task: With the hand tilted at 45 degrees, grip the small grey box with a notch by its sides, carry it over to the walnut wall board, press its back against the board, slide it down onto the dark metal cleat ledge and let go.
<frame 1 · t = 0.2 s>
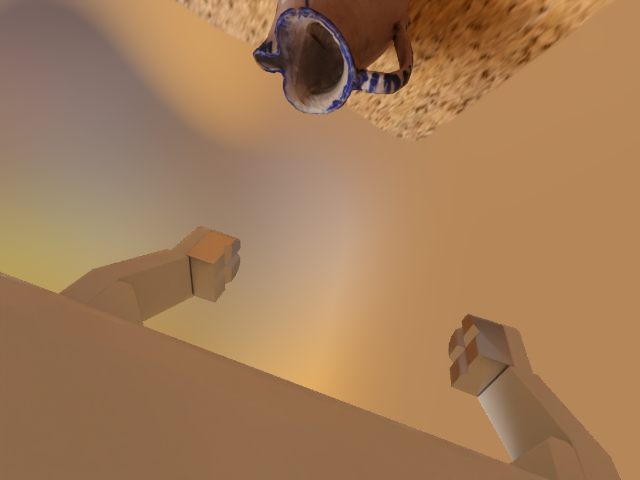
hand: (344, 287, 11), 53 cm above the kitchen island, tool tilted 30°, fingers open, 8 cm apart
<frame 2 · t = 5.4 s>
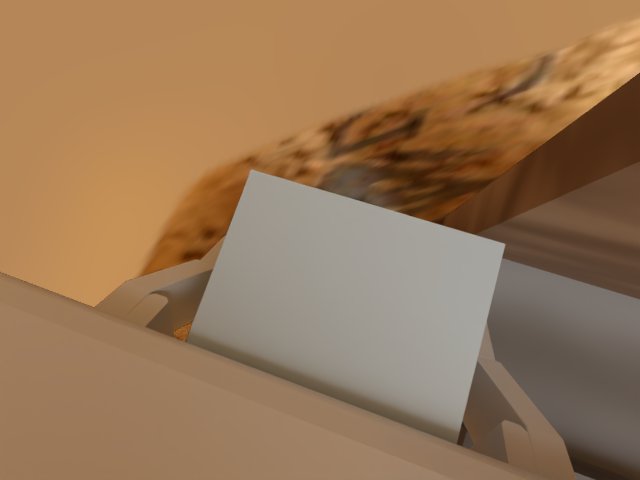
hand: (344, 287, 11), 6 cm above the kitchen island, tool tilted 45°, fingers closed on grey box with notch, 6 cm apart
wall board: (594, 281, 16), on the kitchen island
grey box with notch: (340, 300, 17), on the kitchen island, touching gripper
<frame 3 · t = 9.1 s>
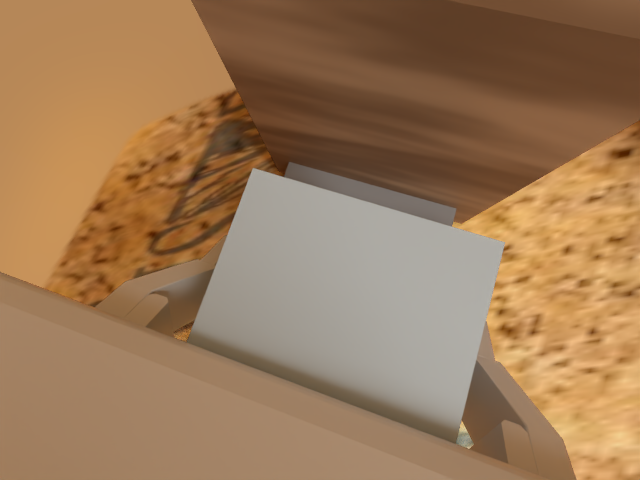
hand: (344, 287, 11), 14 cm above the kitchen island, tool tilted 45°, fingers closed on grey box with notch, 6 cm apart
wall board: (370, 185, 26), on the kitchen island
grey box with notch: (340, 299, 17), point 8 cm above the kitchen island, touching gripper
when the fingers open (10 cm above the kitchen island, at t = 12.6 s): grey box with notch drops 1 cm, resting on wall board.
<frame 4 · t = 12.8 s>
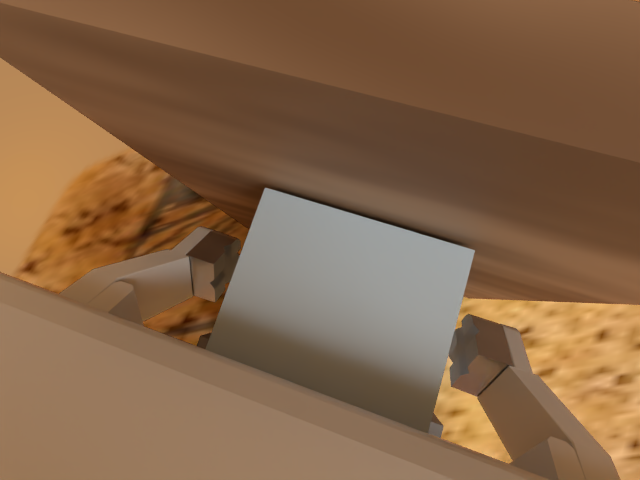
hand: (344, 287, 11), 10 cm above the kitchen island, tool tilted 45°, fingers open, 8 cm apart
wall board: (356, 247, 21), on the kitchen island
grey box with notch: (340, 298, 18), point 3 cm above the kitchen island, touching wall board
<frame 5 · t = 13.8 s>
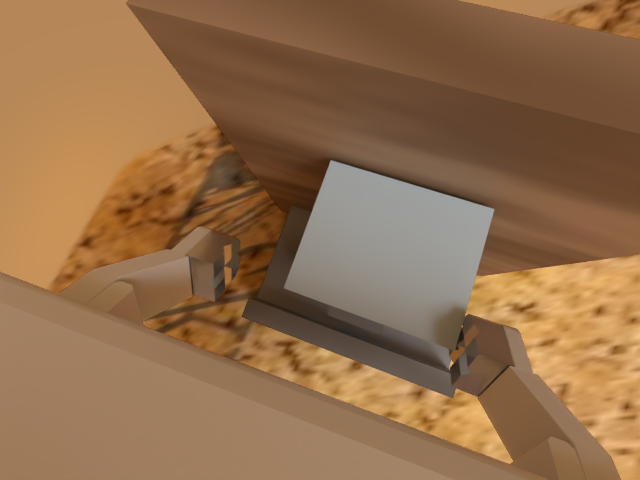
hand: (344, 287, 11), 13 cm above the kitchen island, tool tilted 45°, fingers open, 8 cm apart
wall board: (380, 229, 24), on the kitchen island
grey box with notch: (368, 271, 21), point 3 cm above the kitchen island, touching gripper
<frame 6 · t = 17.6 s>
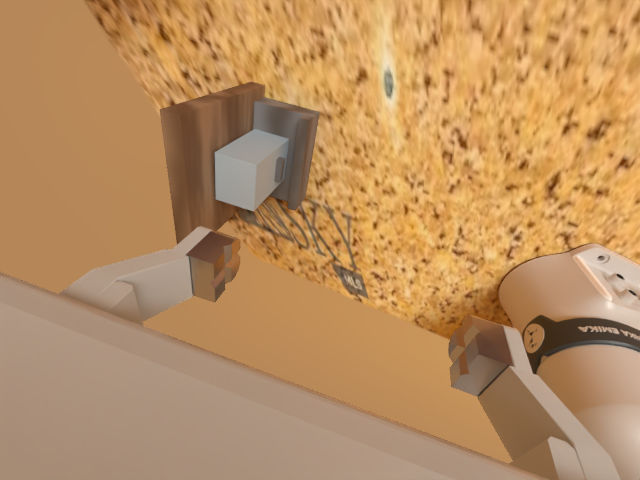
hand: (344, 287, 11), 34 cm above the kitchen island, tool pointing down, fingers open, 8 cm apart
wall board: (255, 141, 46), on the kitchen island
grey box with notch: (269, 154, 43), point 3 cm above the kitchen island, touching wall board
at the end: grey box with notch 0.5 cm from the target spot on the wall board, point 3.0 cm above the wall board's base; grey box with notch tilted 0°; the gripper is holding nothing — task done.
